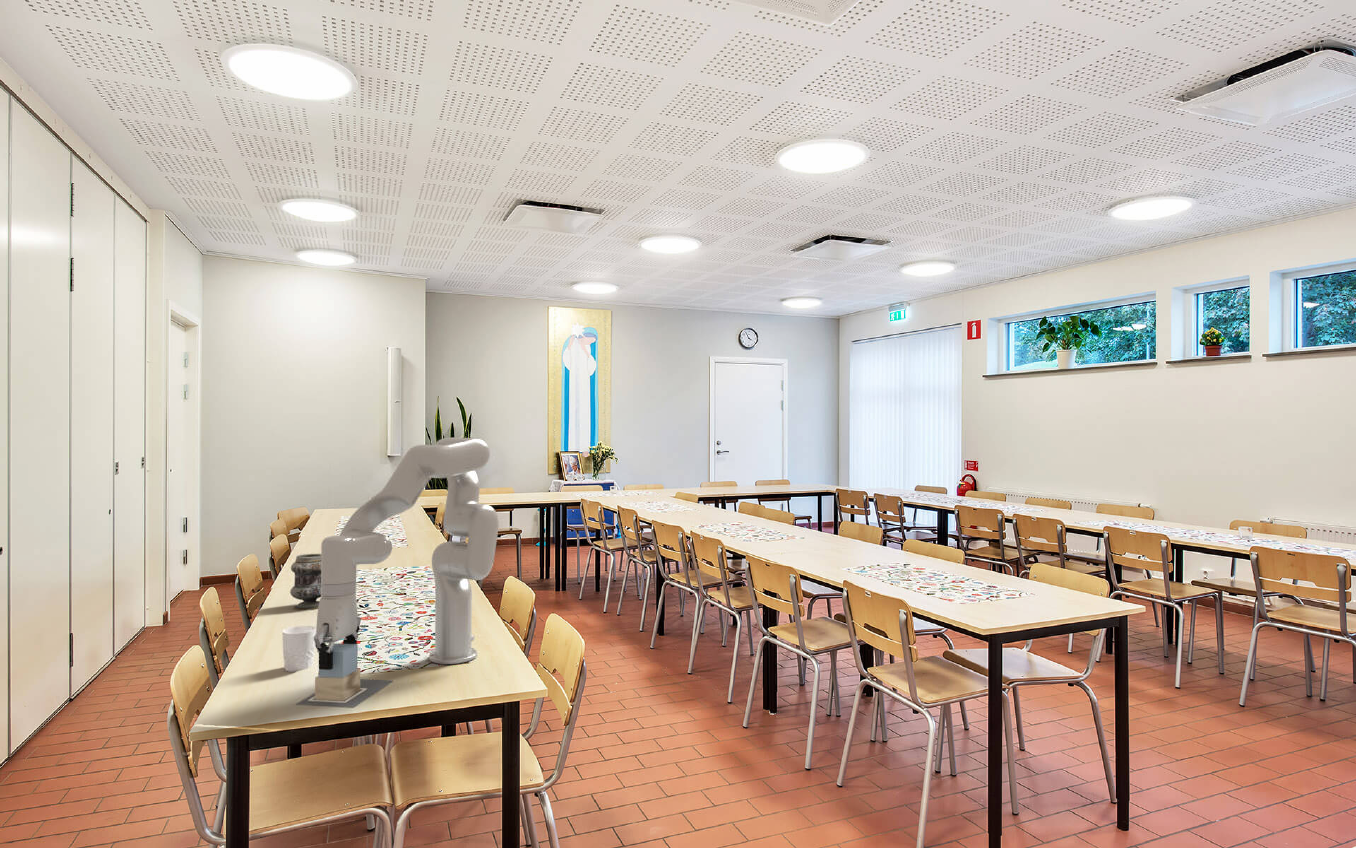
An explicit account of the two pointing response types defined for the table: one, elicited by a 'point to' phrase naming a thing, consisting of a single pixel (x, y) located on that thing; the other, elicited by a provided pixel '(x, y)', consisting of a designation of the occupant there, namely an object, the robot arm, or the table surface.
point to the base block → (337, 687)
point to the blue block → (342, 661)
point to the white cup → (298, 647)
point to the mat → (365, 692)
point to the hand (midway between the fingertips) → (338, 662)
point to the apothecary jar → (307, 580)
